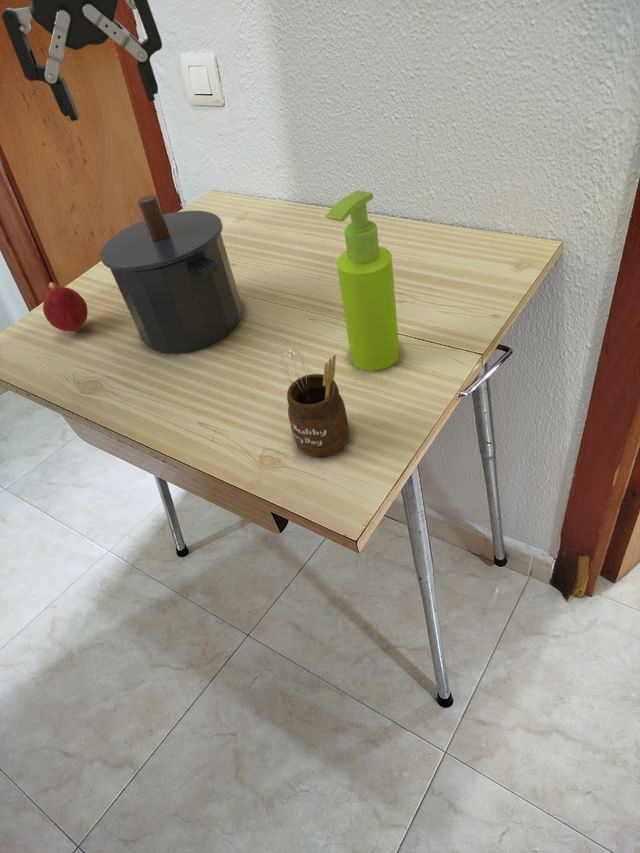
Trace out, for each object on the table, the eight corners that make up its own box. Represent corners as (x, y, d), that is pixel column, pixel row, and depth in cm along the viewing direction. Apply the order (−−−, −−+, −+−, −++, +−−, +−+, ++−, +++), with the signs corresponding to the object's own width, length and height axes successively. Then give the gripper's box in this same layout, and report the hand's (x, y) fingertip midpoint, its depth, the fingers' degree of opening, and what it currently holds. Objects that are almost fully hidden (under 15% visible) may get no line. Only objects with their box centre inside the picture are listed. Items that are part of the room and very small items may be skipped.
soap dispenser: (336, 366, 71) (308, 208, 58) (369, 336, 75) (350, 179, 61) (376, 381, 68) (356, 218, 55) (408, 349, 72) (398, 187, 58)
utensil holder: (316, 412, 66) (297, 324, 58) (363, 431, 63) (349, 341, 55) (284, 446, 63) (258, 358, 55) (331, 467, 60) (311, 378, 52)
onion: (104, 323, 87) (80, 276, 82) (75, 346, 84) (48, 298, 79) (78, 316, 90) (54, 269, 84) (49, 337, 87) (22, 291, 81)
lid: (137, 289, 66) (116, 238, 62) (84, 256, 76) (63, 211, 72) (247, 233, 73) (234, 184, 69) (185, 211, 83) (171, 167, 79)
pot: (189, 375, 75) (155, 290, 66) (114, 324, 87) (77, 246, 78) (275, 319, 81) (253, 234, 72) (194, 278, 93) (167, 201, 84)
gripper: (119, -102, 56) (175, 85, 68) (-29, -69, 55) (52, 115, 67) (119, -101, 51) (179, 102, 62) (-46, -65, 50) (46, 135, 61)
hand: (113, 109), depth 64 cm, fingers open, 8 cm apart
